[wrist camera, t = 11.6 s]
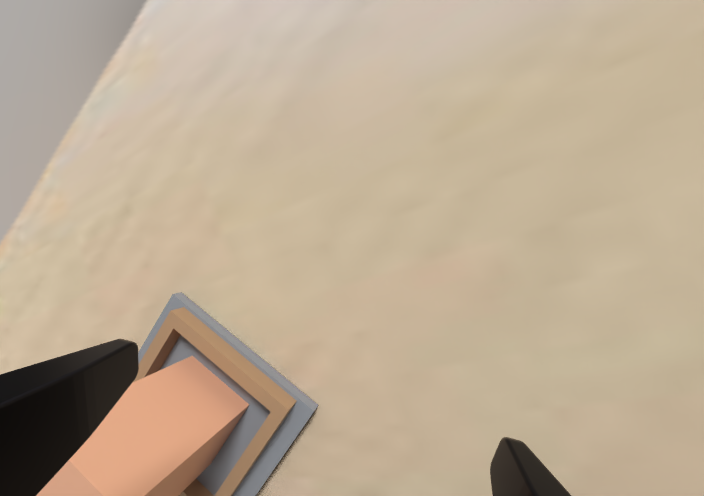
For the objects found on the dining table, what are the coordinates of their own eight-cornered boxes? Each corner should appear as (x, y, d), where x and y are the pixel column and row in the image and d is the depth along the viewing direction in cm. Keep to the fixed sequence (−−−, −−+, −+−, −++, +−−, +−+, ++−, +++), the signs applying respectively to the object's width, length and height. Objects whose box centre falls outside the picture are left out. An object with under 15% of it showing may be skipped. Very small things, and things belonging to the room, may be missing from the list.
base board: (318, 405, 21) (306, 421, 19) (238, 520, 22) (219, 547, 20) (181, 292, 23) (158, 296, 21) (115, 403, 25) (88, 417, 23)
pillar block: (249, 404, 21) (121, 515, 12) (210, 463, 22) (63, 608, 13) (192, 355, 22) (35, 426, 13) (156, 413, 23) (-14, 517, 14)
